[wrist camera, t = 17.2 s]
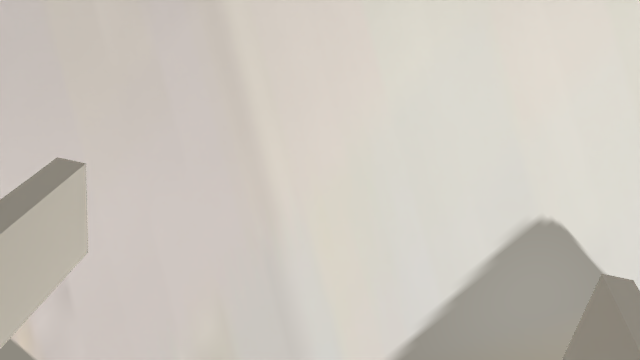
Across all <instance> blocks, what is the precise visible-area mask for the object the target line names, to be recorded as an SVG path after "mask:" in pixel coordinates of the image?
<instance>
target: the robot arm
mask: <svg viewBox="0 0 640 360" xmlns="http://www.w3.org/2000/svg"><path fill="white" fill-rule="evenodd" d="M87 253H88V233H87V190H86V164H85V163H81V162H76V161H71V160H67V159H62V158H56V159H55V160H53V161H52V162H51V163H49V164H48V165H47V166H45V167H44V168H43V169H41V170H40V171H39V172H37V173H36V174H34V175H33V176H32V177H30V178H29V179H28V180H26V181H25V182H24V183H22V184H21V185H20V186H18V187H17V188H16V189H14V190H13V191H12V192H10V193H9V194H8V195H6V196H5V197H4V198H2V199H1V200H0V349H1V348H2V347H3V345H4V344H5V343H6V342H7V341H8V340H9V339H10V338H11V337H12V336H13V334H14V333H15V332H16V331H17V330H18V329H19V328H20V327H21V326H22V324H23V323H24V322H25V321H26V320H27V319H28V318H29V317H30V316H31V315H32V313H33V312H34V311H35V310H36V309H37V308H38V307H39V306H40V305H41V304H42V302H43V301H44V300H45V299H46V298H47V297H48V296H49V295H50V294H51V293H52V291H53V290H54V289H55V288H56V287H57V286H58V285H59V284H60V283H61V281H62V280H63V279H64V278H65V277H66V276H67V275H68V274H69V273H70V272H71V270H72V269H73V268H74V267H75V266H76V265H77V264H78V263H79V262H80V261H81V259H82V258H83V257H84V256H85V255H86V254H87ZM563 360H640V291H639V290H638V288H637V286H636V284H635V282H634V281H633V280H629V279H624V278H620V277H615V276H610V275H605V274H601V276H600V278H599V281H598V283H597V285H596V287H595V290H594V291H593V294H592V296H591V298H590V300H589V302H588V304H587V306H586V309H585V311H584V313H583V315H582V318H581V320H580V322H579V324H578V326H577V328H576V330H575V332H574V335H573V337H572V339H571V341H570V343H569V345H568V348H567V350H566V352H565V354H564V356H563Z"/></svg>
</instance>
